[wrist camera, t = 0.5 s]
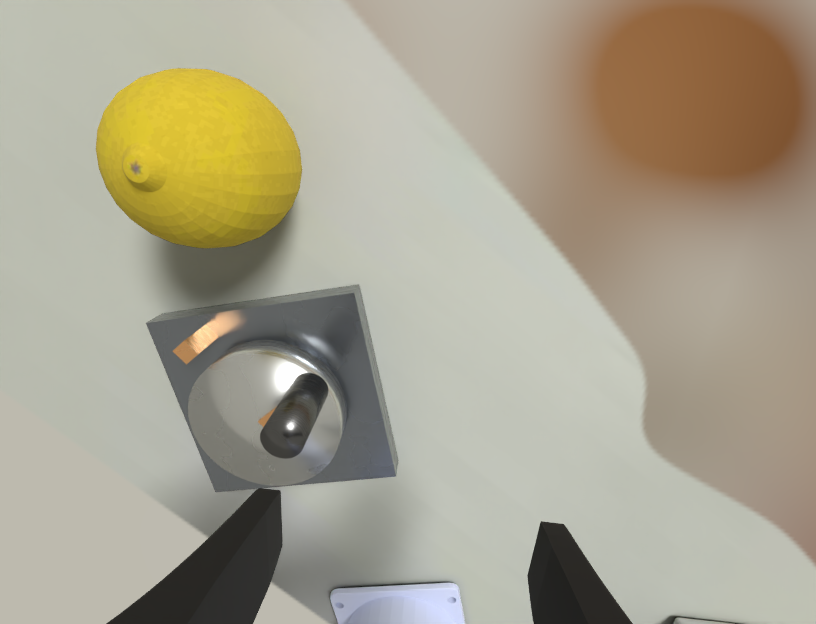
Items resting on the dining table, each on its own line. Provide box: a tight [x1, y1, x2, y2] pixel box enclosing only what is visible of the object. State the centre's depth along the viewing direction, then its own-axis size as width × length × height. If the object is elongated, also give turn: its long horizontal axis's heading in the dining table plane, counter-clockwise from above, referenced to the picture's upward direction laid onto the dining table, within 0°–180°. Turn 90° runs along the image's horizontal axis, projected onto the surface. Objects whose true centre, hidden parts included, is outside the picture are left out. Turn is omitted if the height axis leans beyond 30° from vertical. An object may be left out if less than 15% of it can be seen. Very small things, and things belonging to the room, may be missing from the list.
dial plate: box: [146, 285, 398, 492], centre depth 21 cm, size 10×10×3 cm
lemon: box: [96, 68, 302, 248], centre depth 14 cm, size 6×6×8 cm
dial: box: [188, 340, 347, 486], centre depth 19 cm, size 7×7×5 cm
